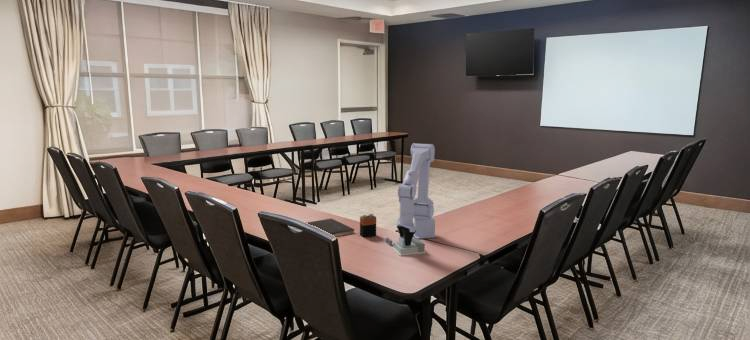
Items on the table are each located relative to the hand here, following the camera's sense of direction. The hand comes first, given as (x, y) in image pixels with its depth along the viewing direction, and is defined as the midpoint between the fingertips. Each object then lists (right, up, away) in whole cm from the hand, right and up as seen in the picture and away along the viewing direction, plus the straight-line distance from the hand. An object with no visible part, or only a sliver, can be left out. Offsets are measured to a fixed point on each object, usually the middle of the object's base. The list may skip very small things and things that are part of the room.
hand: (405, 243), depth 191 cm
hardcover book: (-36, +1, +29) cm, 46 cm away
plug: (0, -2, 0) cm, 2 cm away
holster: (-3, -1, +11) cm, 11 cm away
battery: (-16, 0, +21) cm, 27 cm away
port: (+1, -3, +1) cm, 4 cm away
